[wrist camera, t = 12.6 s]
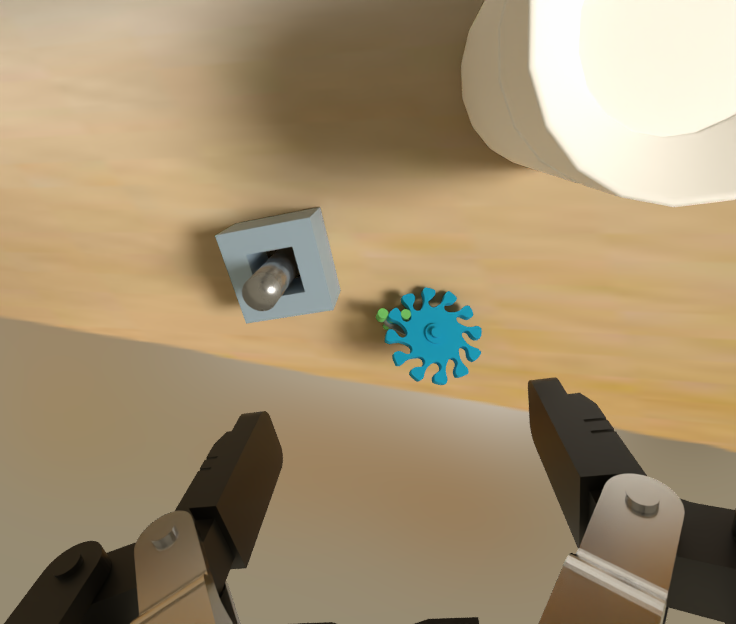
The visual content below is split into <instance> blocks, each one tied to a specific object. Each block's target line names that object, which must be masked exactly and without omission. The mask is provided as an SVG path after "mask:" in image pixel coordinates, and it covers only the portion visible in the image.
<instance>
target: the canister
mask: <svg viewBox="0 0 736 624" xmlns="http://www.w3.org/2000/svg"><path fill="white" fill-rule="evenodd" d="M461 80H462V99H463V102H464V105H465V108H466V110H467V113H468V116H469V119H470V122H471V124H472V127H473V128H474V130H475V131H476V132H477V133H478V135H479V136H480V137H481V138H482V140H483V141H484V142H485V143H486V145H487V146H488V147H489V148H490V149H491V150H493V151H494V152H496V153H498V154H499V155H501V156H503V157H504V158H506V159H508V160H509V161H511V162H513V163H516V164H519V165H522V166H525V167H528V168H531V169H534V170H537V171H541V172H544V173H547V174H550V175H553V176H556V177H559V178H562V179H565V180H569V181H572V182H575V183H580V184H583V185H584V186H587V187H590V188H594V189H597V190H600V191H603V192H606V193H609V194H612V195H615V196H619V197H622V198H627V199H633V200H638V201H643V202H649V203H654V204H659V205H665V206H670V207H680V206H688V205H696V204H704V203H712V202H721V201H729V200H735V199H736V0H485V1H484V3H483V5H482V7H481V8H480V10H479V12H478V14H477V16H476V18H475V20H474V22H473V24H472V26H471V27H470V29H469V32H468V37H467V41H466V45H465V50H464V54H463V58H462V63H461Z"/></svg>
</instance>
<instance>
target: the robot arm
mask: <svg viewBox="0 0 736 624" xmlns="http://www.w3.org/2000/svg"><path fill="white" fill-rule="evenodd" d="M528 398H529V418H530V428H531V434H532V438H533V441H534V444H535V447H536V449H537V452H538V454H539V456H540V459H541V461H542V463H543V466H544V468H545V471H546V473H547V475H548V478H549V480H550V483H551V485H552V487H553V490H554V492H555V495H556V497H557V499H558V502H559V504H560V506H561V509H562V511H563V514H564V516H565V518H566V521H567V523H568V525H569V528H570V530H571V533H572V535H573V537H574V540H575V542H576V545H577V547H578V551H577V553H576V554H573V553H570V554H569V555H568V557H567V558H566V560H565V562H564V565H563V567H562V569H561V572H560V574H559V576H558V579H557V581H556V583H555V586H554V588H553V590H552V593H551V595H550V598H549V600H548V602H547V605H546V607H545V609H544V612H543V614H542V616H541V619H540V621H539V624H666V621H667V616H668V611H669V608H673V609H677V610H680V611H684V612H688V613H692V614H695V615H699V616H702V617H707V618H710V619H714V620H717V621H721V622H725V624H736V510H731V509H725V508H719V507H714V506H708V505H702V504H697V503H692V502H689V501H686V500H682V499H680V498H679V497H678V496H677V495H676V493H674V491H672V490H671V489H670V488H669V487H668V486H666V485H664V484H663V483H661V482H659V481H657V480H655V479H653V478H650V477H648V476H647V475H646V474H645V472H644V471H643V470H642V468H641V467H640V465H639V464H638V462H637V461H636V460H635V458H634V457H633V455H632V454H631V453H630V451H629V450H628V448H627V447H626V445H625V444H624V443H623V441H622V440H621V438H620V437H619V435H618V434H617V433H616V432H614V428H613V427H612V425H611V424H610V423H609V421H608V420H606V417H605V416H604V414H603V413H602V411H601V410H600V408H599V407H598V406H597V404H596V403H594V402H593V401H591V400H590V399H588V398H587V397H585V396H584V395H582V394H581V393H575V394H567V393H566V391H565V390H564V388H563V386H562V385H561V383H560V382H559V380H558V379H557V378H556V377H555V378H547V379H538V380H530V381H529V382H528ZM282 463H283V454H282V448H281V445H280V443H279V440H278V437H277V434H276V432H275V429H274V426H273V424H272V421H271V418H270V416H269V414H268V413H267V412H266V411H264V412H256V413H255V412H254V413H246V414H242V415H241V416H240V417H239V419H238V421H237V423H236V424H235V426H234V428H233V430H232V431H230V432H226V433H225V434H224V435H223V436H222V437H221V438H220V439H219V440H218V441H217V442H216V443H215V444H214V446H213V447H212V449H211V450H210V452H209V454H208V456H207V459H206V460H205V461H204V462H203V464H202V466H201V468H200V471H198V472H197V474H196V476H195V478H194V479H193V481H192V483H191V484H190V486H189V488H188V489H187V491H186V493H185V494H184V496H183V498H182V500H181V501H180V503H179V505H178V506H177V508H176V510H175V511H174V512H170V513H167V514H165V515H163V516H161V517H159V518H158V519H157V520H155V521H154V522H152V523H151V524H150V525H149V526H148V527H147V528H146V529H145V530H144V531H143V532H142V533H141V535H140V536H139V538H138V539H137V542H136V543H133V544H130V545H127V546H125V547H122V548H119V549H116V550H114V551H111V552H109V553H106V552H105V550H104V549H103V547H102V546H101V545H100V544H99V543H98V542H96V541H87V542H83V543H80V544H78V545H75V546H73V547H71V548H70V549H68V550H66V551H65V552H63V553H62V554H61V555H59V556H58V557H57V558H56V559H55V560H54V561H53V562H51V563H50V564H49V566H48V567H47V568H46V569H45V570H44V571H43V573H42V574H41V575H40V577H39V578H38V579H37V581H36V582H35V583H34V585H33V586H32V587H31V589H30V590H29V591H28V593H27V594H26V595H25V597H24V598H23V599H22V601H21V602H20V603H19V605H18V606H17V607H16V609H15V610H14V611H13V612H12V614H11V615H10V617H9V618H8V619H7V621H6V622H5V623H4V624H241V623H240V620H239V617H238V614H237V611H236V608H235V604H234V602H233V598H232V595H231V592H230V589H229V586H228V584H227V582H226V579H227V576H228V573H229V571H230V569H241V568H246V567H247V565H248V562H249V559H250V556H251V553H252V551H253V548H254V545H255V542H256V539H257V537H258V533H259V530H260V528H261V525H262V522H263V519H264V517H265V514H266V511H267V508H268V505H269V502H270V500H271V497H272V494H273V491H274V488H275V485H276V482H277V479H278V477H279V474H280V471H281V468H282ZM300 624H301V623H300ZM302 624H336V623H332V622H329V623H302ZM415 624H479V620H478V617H472V618H446V619H445V618H443V619H427V620H424V621H421V622H419V623H415Z"/></svg>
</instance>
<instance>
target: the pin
mask: <svg viewBox="0 0 736 624" xmlns="http://www.w3.org/2000/svg"><path fill="white" fill-rule="evenodd" d="M298 272H299V269H298V265H297V262H296V258H295V254H294V251H293V247H287V248H281V249H278V250H277V251H276V252H275V253H274V254H273V255H272V256H271V257H270V258H269V259H268V260H267V261H266V262H265V263H264V264H263V265H262V266H261V267H260V268H259V269H258V270H257V271H256V272H255V273H254V274H253V275H252V276H251V277H250V278H249V279H248V280H247V281H246V282H245V284H244V285H243V288H242V297H243V299H244V301H245V303H246V304H247V305H248V306H249V307H251V308H252V309H254V310H257V311H267V310H270V309H272V308H273V307H274V306H275V304H276V303H277V302H278V300H279V299H280V297H281V296H282V295H283V293H284V292H285V290H286V289H287V287H288V286H289V285H290V283H291V282H292V280H293V279H294V278H295V276H296V275H297V273H298Z"/></svg>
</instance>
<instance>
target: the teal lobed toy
mask: <svg viewBox="0 0 736 624" xmlns="http://www.w3.org/2000/svg"><path fill="white" fill-rule="evenodd" d="M421 296H422V300H423V304H422V308H421V310H420V311H416V310H415V309H414V308H413V303H414V301H415V296H414V294H411V293H410V294H406V295H404V296H402V298H401V303H402V304H403V305H404V306H405V307H406V309H404V310H402V312H400V310H399V309H398V308H394V309H393V310H392V311H387V310H386V309H384V308H381V309H380V310H379V311H378V313H377V315H376V319H377V321H379V322H383V323H384V325H383V328H384V329H385V330H388V329H389V328H391V329H389V330H388V331H387V333H386V335H385V343H387V344H393V343H400V344H403V345H405V346H407V347H409V348H410V354H405V353H403V352H401V351H397V352H395V353H394V354H393V355H392V358H393V361H394V363H395V365H396V366H400V365H402V364H403V363H404V362H405V361H407V360H409V359H413V358H419V359H421V360H422V362H423V365H422V367H415V368H413V369H412V370H411V371H410V372H409V375H410V376H411V377H412V378H413V379H414V380H415V381H417V382H418V381H420V380H422V379H423V377H424V373H425V370H426V369H427V367H428V366H429V365H430V364H432V363H436V364H437V365H438V366H439V371H438V372H437V373H436V374H435V375H433V377H432V382H433V383H434V384H438V385H444V384H446V383H447V376H446V364H447V362H448V359H451V360H453V361H454V363H455V367H454V369H453V375H454V377H455V378H459V377H462V376H464V375H466V374H468V369H467V367H466V366H465V365H464V364H463V363H462V361H461V359H460V356H459V348H462V349H464V350H465V353H466V358H467V360H468V361H470V362H473V361H475V360H476V359H477V358H478V357H479V356H480V354H481V351H480V350H479V349H477V348H474V347H472V346H470V345H469V344H467V343H466V341H465V340H464V339H463V337H462V333H466V334H467V335H468V336H469V338H470V339H472V340H478V339H479V338H480V337H481V328H480V327H479V326H474V327H466V326H463V325H461V324H459V323H458V322H457V320H456V318H457V317H460V318H462V319H464V320H468V319H470V318H471V317H472V316H473V312H472V309H471V308H470V306H464V307H463V308H462V309H461V310H460V311H457V312H447V311H446V310H445V309H444V306H449V305H452V304H453V303H454V302H455V301H456V300H457V298H456V296H455V295H454V294H452V293H451V292H450V291H448V292H446V293H445V295H444V296H443V298H442V302H441V304H440V305H438V306H437V307H431V306H430V305H429V303H428V301H430V300H431V299H432V298H433V297H434V296H435V290H434V289H431V288H424V289H423V291H422V292H421ZM408 319H409V320H408ZM396 331H397V332H399V333H400V334H402V335H404V336H405V337H403V338H402V337H400V336H399V335H398V334H397V333H396Z"/></svg>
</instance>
